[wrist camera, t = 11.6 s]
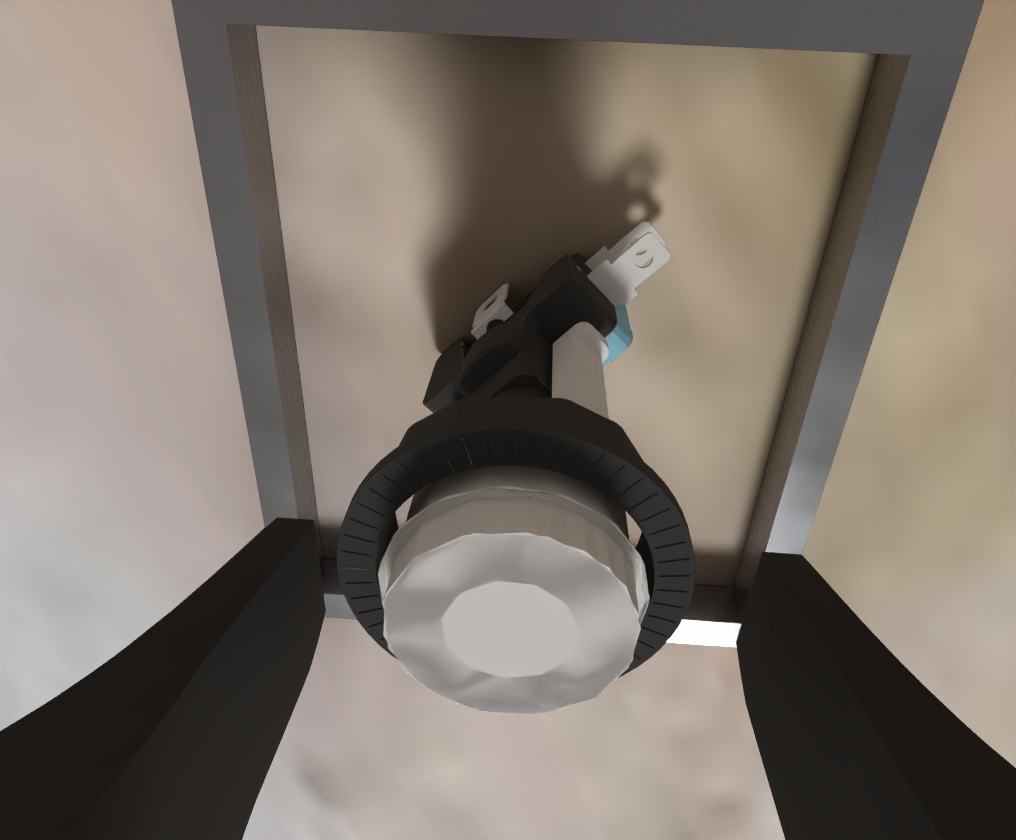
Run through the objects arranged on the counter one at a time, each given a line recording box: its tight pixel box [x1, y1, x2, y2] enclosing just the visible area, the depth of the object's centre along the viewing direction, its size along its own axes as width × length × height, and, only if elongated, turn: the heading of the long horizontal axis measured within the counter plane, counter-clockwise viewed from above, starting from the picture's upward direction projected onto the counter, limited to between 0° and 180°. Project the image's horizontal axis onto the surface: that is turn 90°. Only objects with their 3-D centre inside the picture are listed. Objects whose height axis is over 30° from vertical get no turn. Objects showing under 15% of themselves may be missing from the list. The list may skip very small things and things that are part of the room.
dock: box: [171, 0, 984, 647], centre depth 18 cm, size 15×17×2 cm
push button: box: [337, 221, 696, 715], centre depth 14 cm, size 7×5×10 cm
